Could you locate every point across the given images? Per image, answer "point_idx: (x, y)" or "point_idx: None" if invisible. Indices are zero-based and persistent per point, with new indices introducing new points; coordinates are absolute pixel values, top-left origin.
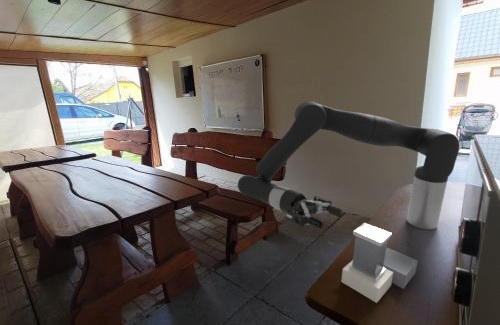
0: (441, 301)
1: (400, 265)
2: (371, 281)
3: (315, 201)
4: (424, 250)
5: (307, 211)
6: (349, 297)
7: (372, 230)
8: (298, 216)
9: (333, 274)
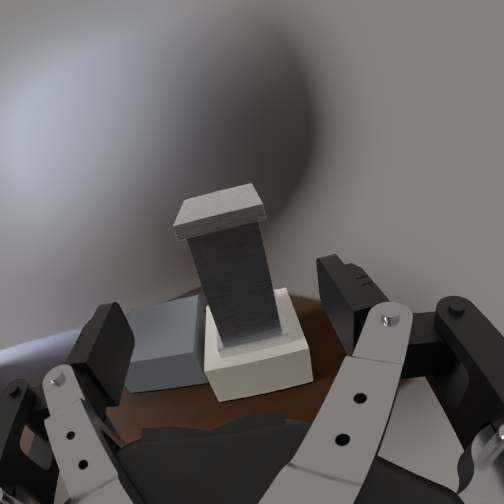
0: (191, 296)
1: (171, 312)
2: (279, 302)
3: (71, 458)
4: (61, 357)
5: (363, 355)
6: (332, 344)
7: (207, 204)
8: (485, 324)
9: (308, 413)
